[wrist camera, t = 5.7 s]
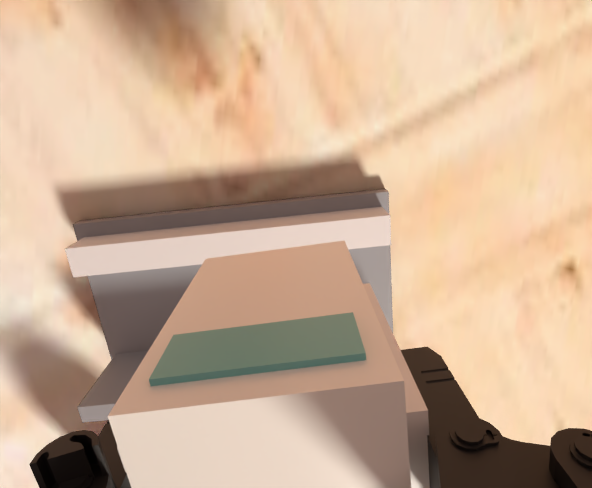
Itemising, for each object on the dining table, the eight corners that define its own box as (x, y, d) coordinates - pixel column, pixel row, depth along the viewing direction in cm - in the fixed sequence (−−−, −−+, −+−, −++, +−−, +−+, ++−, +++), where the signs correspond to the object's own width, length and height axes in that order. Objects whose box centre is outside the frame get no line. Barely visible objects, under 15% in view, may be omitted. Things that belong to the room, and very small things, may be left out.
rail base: (79, 220, 29) (17, 253, 22) (385, 188, 28) (413, 212, 22) (119, 362, 33) (76, 427, 26) (390, 336, 32) (416, 395, 26)
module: (204, 254, 14) (105, 409, 7) (343, 236, 14) (403, 373, 7) (235, 397, 16) (184, 647, 9) (359, 383, 16) (420, 624, 8)
